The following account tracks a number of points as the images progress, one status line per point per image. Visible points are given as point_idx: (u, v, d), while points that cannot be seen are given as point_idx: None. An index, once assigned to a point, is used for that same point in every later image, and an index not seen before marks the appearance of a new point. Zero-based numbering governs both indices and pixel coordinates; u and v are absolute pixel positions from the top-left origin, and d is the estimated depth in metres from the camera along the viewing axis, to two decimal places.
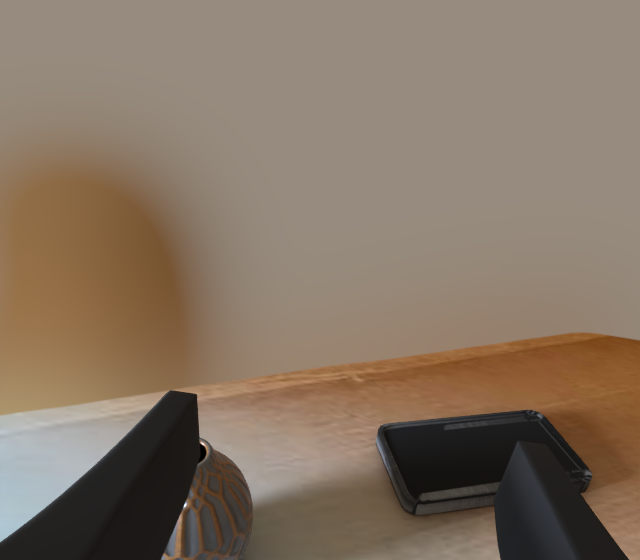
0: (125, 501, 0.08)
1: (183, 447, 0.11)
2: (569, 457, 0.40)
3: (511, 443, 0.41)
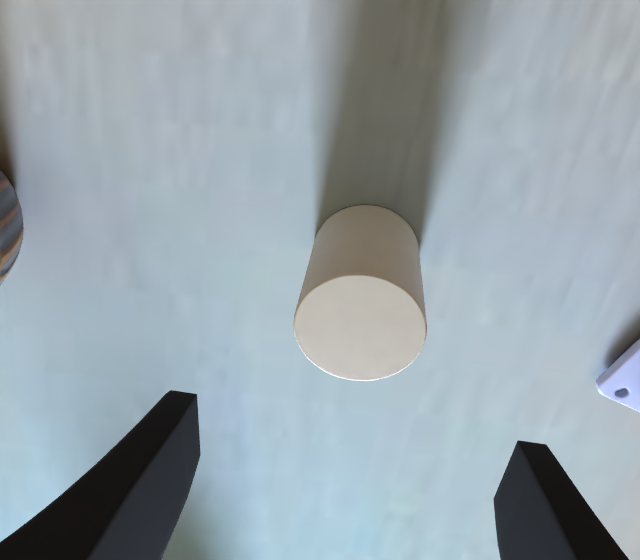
0: (125, 501, 0.08)
1: (183, 447, 0.11)
2: None
3: None
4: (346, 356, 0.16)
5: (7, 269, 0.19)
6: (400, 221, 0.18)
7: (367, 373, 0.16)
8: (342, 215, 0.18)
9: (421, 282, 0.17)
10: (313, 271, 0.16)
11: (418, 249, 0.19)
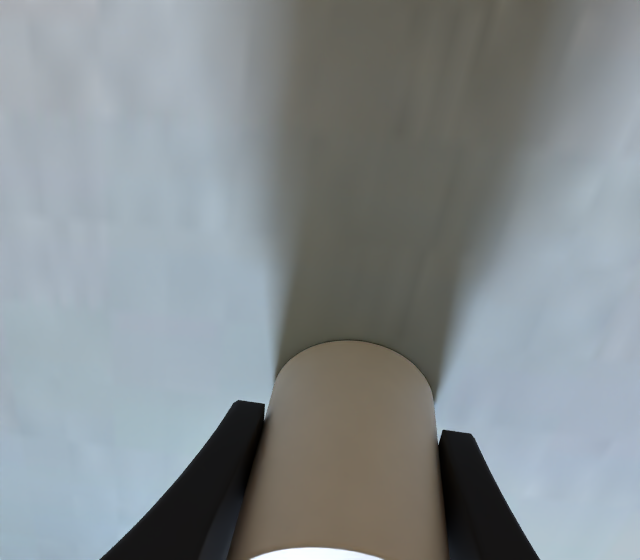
0: (215, 515, 0.08)
1: None
2: None
3: None
4: None
5: None
6: (405, 369, 0.12)
7: None
8: (313, 360, 0.12)
9: (442, 500, 0.10)
10: (255, 497, 0.09)
11: (433, 408, 0.12)
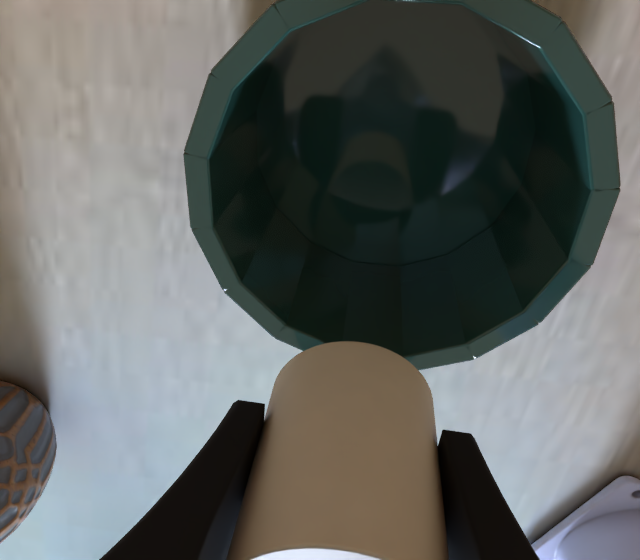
0: (215, 515, 0.08)
1: None
2: None
3: None
4: None
5: None
6: (405, 370, 0.12)
7: None
8: (313, 361, 0.12)
9: (441, 501, 0.10)
10: (255, 498, 0.09)
11: (433, 409, 0.12)
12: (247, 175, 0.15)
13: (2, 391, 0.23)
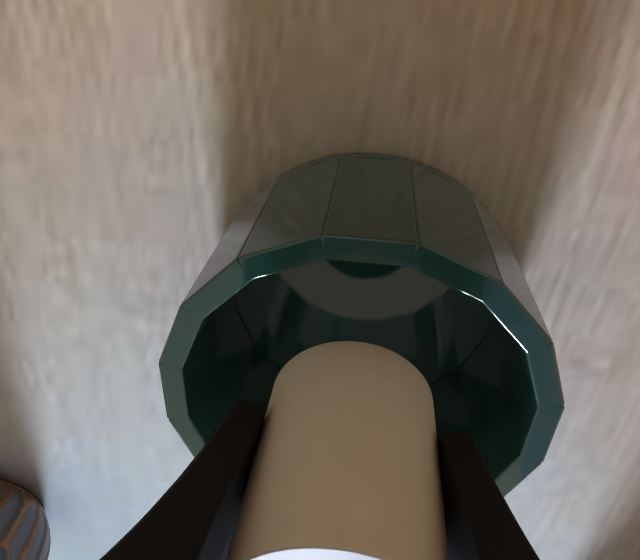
0: (215, 515, 0.08)
1: None
2: None
3: None
4: None
5: None
6: (405, 369, 0.12)
7: None
8: (313, 360, 0.12)
9: (442, 501, 0.10)
10: (254, 498, 0.09)
11: (433, 409, 0.12)
12: (225, 335, 0.16)
13: None
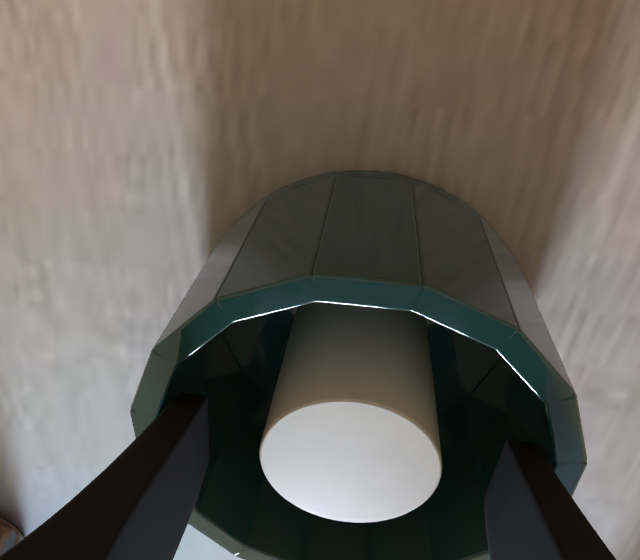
0: (139, 503, 0.08)
1: (194, 449, 0.11)
2: None
3: None
4: (332, 495, 0.12)
5: None
6: None
7: (360, 514, 0.12)
8: None
9: (433, 389, 0.12)
10: (287, 380, 0.12)
11: (427, 330, 0.15)
12: (210, 368, 0.15)
13: None
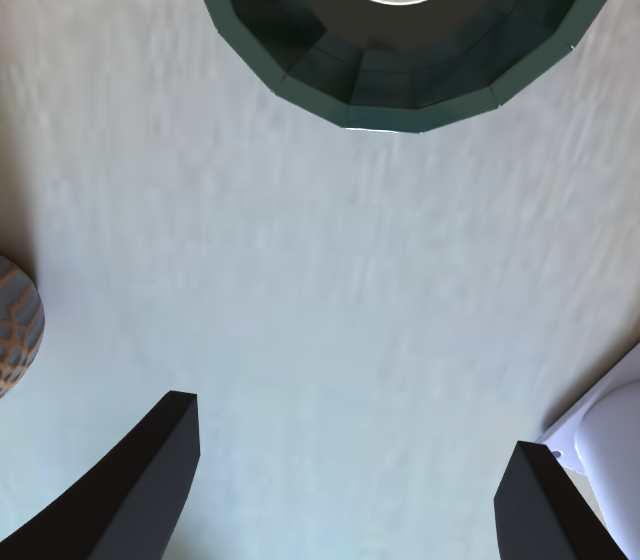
0: (125, 501, 0.08)
1: (183, 447, 0.11)
2: None
3: None
4: None
5: (32, 360, 0.22)
6: None
7: None
8: None
9: None
10: None
11: None
12: None
13: None
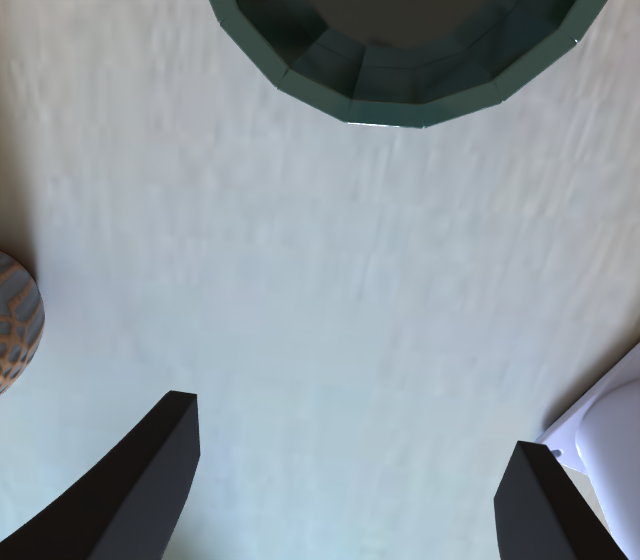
0: (125, 501, 0.08)
1: (183, 447, 0.11)
2: None
3: None
4: None
5: (32, 356, 0.22)
6: None
7: None
8: None
9: None
10: None
11: None
12: None
13: None
